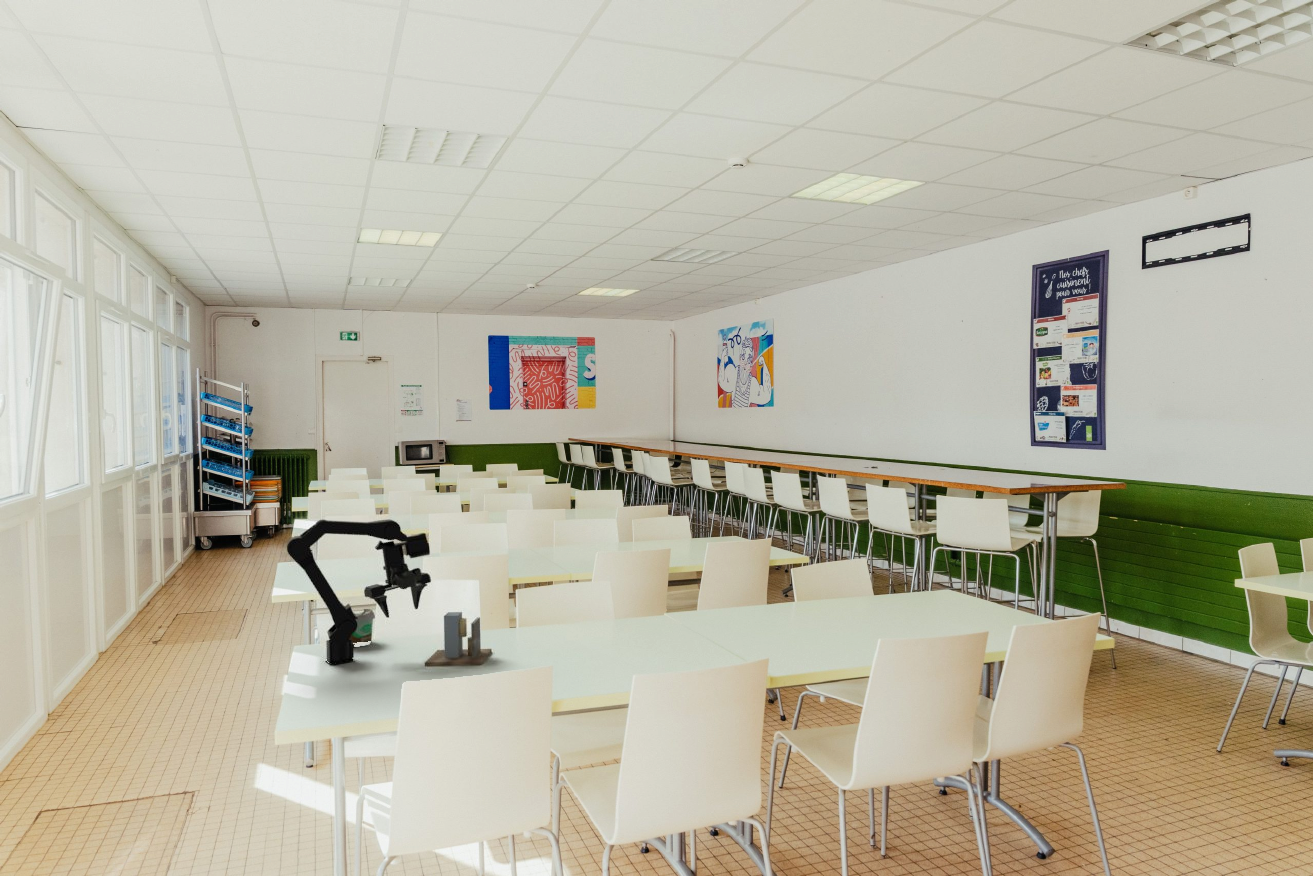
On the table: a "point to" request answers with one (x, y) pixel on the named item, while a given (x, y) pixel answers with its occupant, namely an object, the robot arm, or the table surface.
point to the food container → (363, 627)
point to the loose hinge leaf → (454, 634)
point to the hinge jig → (464, 651)
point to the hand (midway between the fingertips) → (402, 613)
